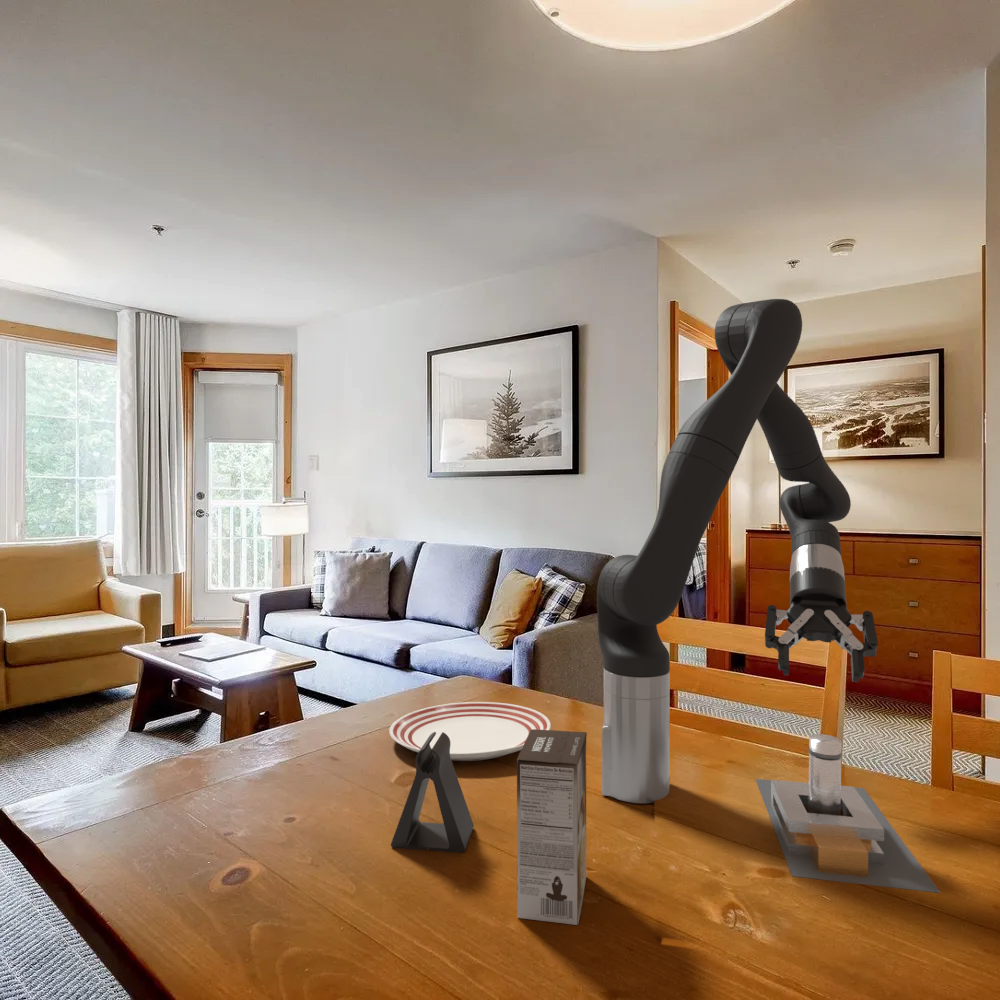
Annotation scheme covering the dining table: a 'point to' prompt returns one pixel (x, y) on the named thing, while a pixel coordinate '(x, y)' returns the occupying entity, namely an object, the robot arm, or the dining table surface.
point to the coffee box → (551, 826)
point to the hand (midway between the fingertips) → (820, 675)
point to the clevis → (828, 830)
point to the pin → (824, 774)
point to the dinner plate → (470, 728)
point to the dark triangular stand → (450, 801)
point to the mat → (894, 872)
